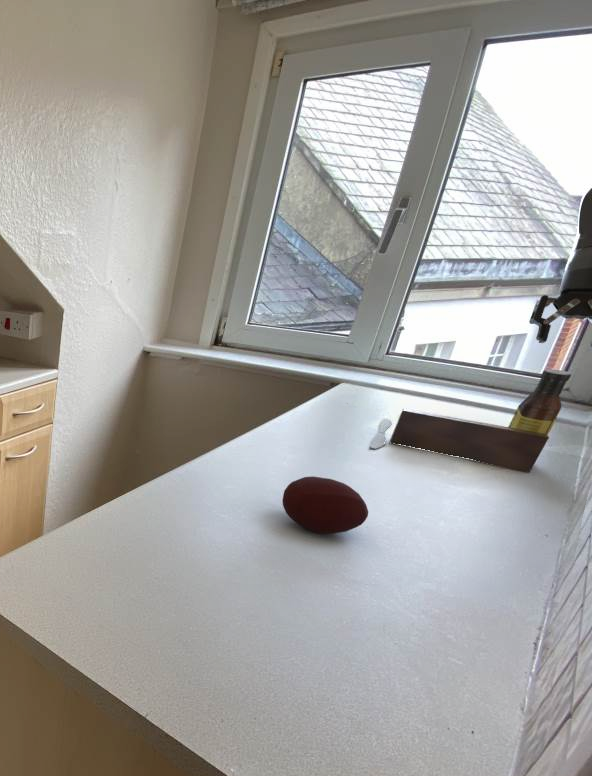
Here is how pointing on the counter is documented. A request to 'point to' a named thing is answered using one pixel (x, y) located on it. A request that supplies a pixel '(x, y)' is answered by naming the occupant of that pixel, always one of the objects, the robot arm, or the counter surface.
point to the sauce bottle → (541, 403)
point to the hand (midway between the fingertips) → (568, 344)
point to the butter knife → (380, 434)
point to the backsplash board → (469, 439)
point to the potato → (324, 505)
